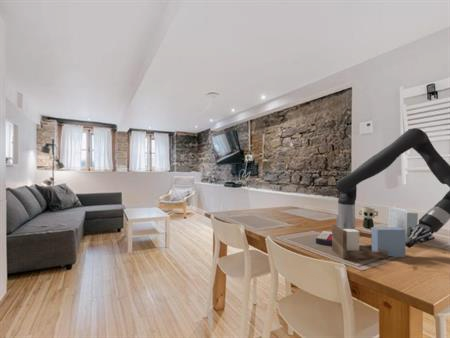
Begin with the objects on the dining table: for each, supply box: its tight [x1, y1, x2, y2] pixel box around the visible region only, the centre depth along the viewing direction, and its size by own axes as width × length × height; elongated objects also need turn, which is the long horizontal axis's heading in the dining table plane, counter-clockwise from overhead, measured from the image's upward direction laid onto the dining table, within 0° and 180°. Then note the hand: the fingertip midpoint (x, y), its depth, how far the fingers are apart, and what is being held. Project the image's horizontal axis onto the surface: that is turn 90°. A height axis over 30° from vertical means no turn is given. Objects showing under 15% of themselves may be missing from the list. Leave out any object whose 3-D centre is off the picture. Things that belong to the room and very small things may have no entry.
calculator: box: [315, 230, 332, 247], centre depth 127 cm, size 11×4×15 cm
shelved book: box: [344, 228, 360, 251], centre depth 108 cm, size 7×4×11 cm, turn 88°
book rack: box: [331, 224, 389, 260], centre depth 107 cm, size 20×11×12 cm, turn 88°
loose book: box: [371, 226, 406, 258], centre depth 107 cm, size 12×4×12 cm, turn 88°
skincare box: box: [387, 206, 419, 242], centre depth 134 cm, size 21×6×16 cm, turn 168°
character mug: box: [358, 206, 379, 229], centre depth 157 cm, size 11×7×13 cm, turn 61°
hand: (406, 246), depth 107 cm, fingers closed
